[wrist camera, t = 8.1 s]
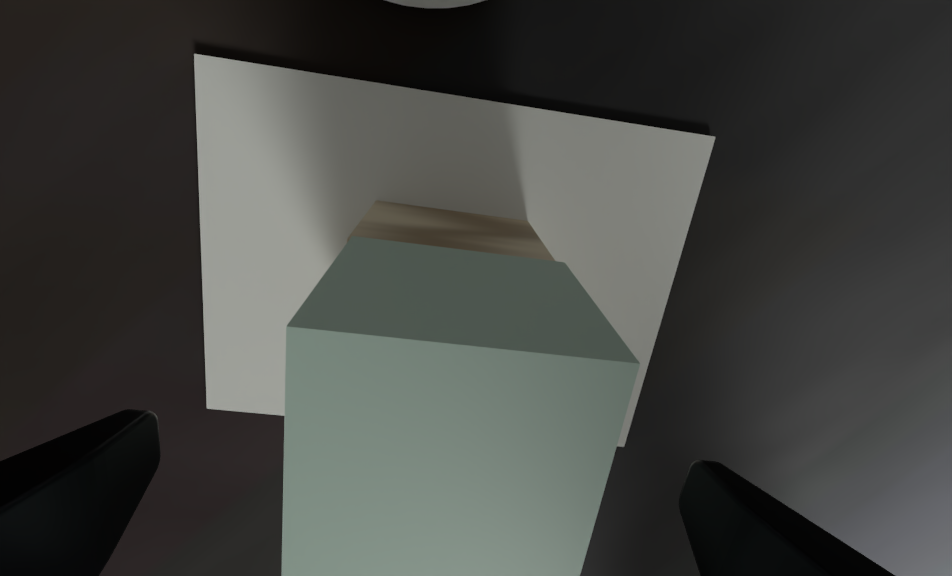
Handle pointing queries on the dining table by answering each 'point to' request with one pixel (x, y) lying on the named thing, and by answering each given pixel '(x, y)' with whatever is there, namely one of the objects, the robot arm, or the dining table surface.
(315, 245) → the white flat rectangular panel
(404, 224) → the maple block
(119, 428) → the robot arm
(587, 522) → the sage block
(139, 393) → the dining table surface
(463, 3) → the cup
